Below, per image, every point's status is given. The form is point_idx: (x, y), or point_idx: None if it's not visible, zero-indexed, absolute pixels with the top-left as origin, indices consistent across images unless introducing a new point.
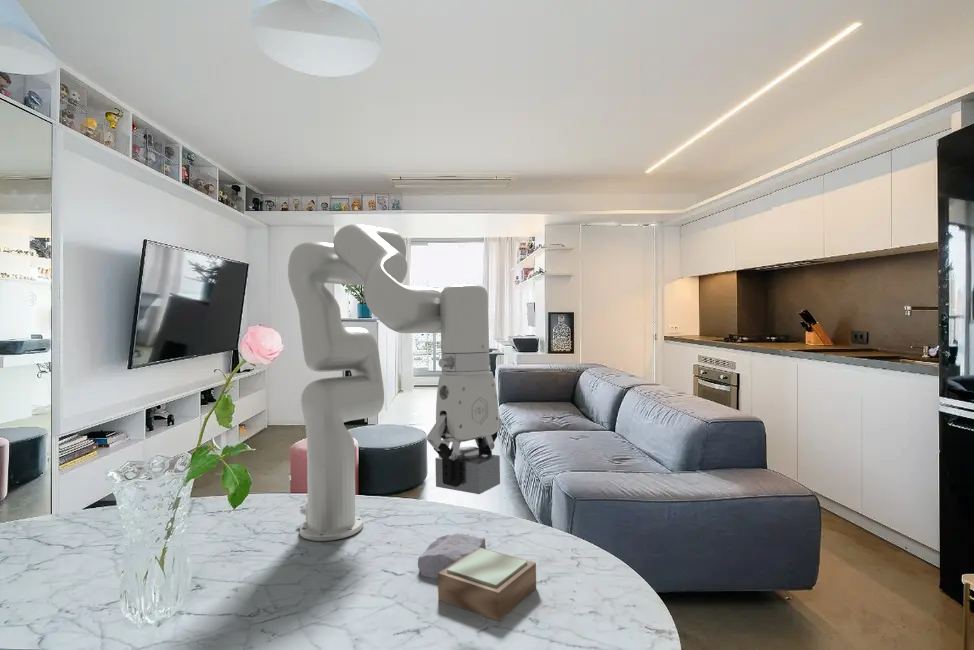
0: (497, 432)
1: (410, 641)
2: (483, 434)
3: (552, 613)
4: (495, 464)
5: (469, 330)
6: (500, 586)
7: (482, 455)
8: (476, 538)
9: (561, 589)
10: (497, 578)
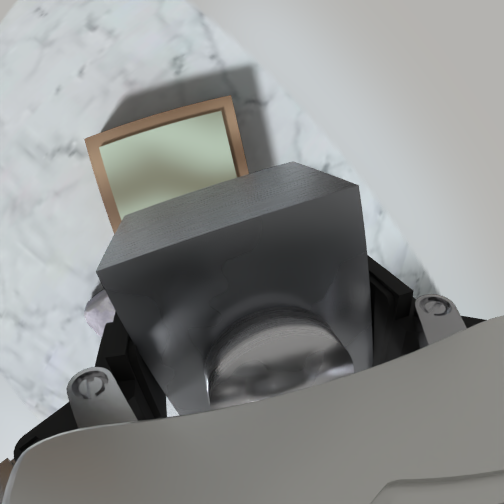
0: (9, 460)
1: (344, 157)
2: (284, 404)
3: (139, 59)
4: (154, 233)
5: None
6: (210, 109)
7: (186, 342)
8: (101, 319)
9: (68, 107)
10: (200, 128)
